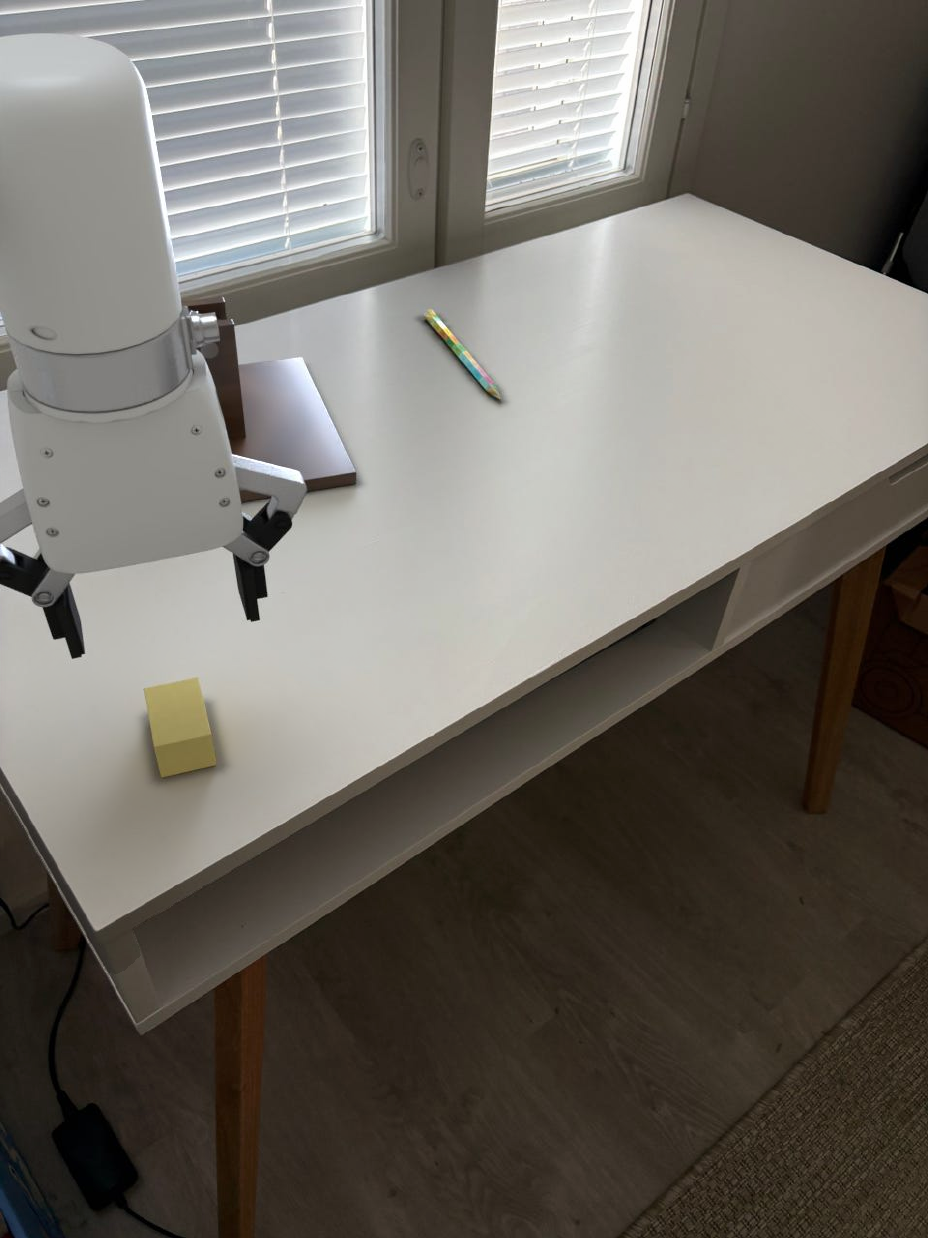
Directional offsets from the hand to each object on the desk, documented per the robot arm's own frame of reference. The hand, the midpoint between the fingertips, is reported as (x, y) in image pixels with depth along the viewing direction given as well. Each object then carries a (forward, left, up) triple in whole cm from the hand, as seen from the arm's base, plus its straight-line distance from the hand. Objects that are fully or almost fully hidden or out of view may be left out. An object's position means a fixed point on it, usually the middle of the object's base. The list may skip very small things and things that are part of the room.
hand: (164, 622), depth 58 cm
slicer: (+8, +34, -10) cm, 36 cm away
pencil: (+34, +42, -11) cm, 55 cm away
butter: (0, 0, -10) cm, 10 cm away
